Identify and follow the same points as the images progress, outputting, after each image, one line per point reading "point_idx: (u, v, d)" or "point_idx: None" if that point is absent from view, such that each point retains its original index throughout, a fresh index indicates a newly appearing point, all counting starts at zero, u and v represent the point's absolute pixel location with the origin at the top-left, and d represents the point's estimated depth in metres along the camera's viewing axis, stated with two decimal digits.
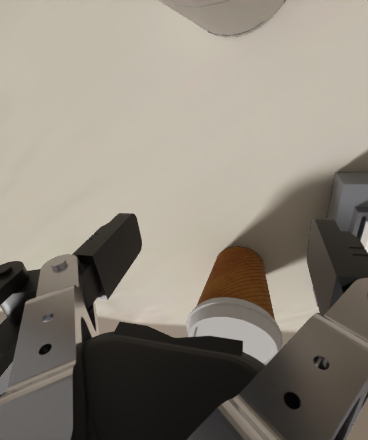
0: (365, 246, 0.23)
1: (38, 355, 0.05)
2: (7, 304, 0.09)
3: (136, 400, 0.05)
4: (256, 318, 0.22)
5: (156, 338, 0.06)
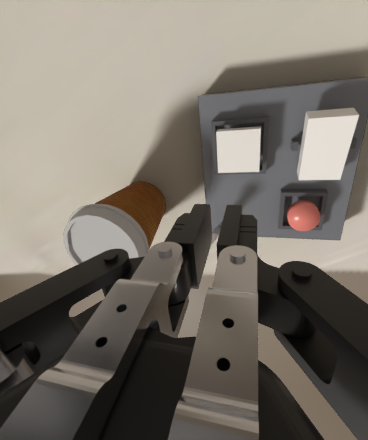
0: (217, 152, 0.25)
1: (93, 345, 0.05)
2: None
3: (136, 400, 0.05)
4: (114, 217, 0.24)
5: (156, 338, 0.06)
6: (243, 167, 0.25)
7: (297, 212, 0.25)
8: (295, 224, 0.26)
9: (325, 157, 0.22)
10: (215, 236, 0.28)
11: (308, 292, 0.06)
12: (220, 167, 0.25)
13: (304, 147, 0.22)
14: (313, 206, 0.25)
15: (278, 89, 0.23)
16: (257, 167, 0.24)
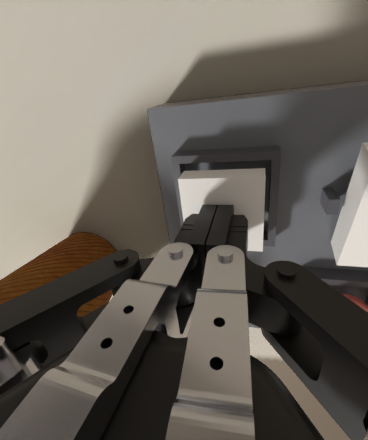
0: (183, 215, 0.13)
1: (99, 346, 0.05)
2: None
3: (136, 400, 0.05)
4: None
5: (156, 338, 0.06)
6: None
7: None
8: None
9: None
10: None
11: (293, 291, 0.07)
12: None
13: (356, 215, 0.11)
14: None
15: (300, 95, 0.11)
16: (259, 244, 0.13)
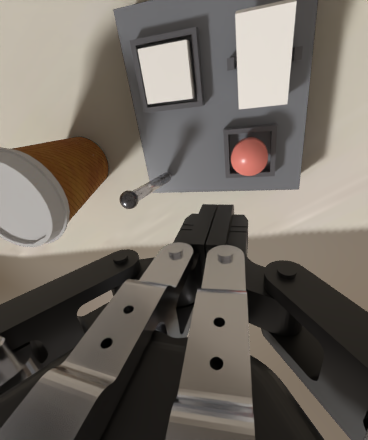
0: (143, 78, 0.21)
1: (99, 346, 0.05)
2: None
3: (136, 400, 0.05)
4: (13, 160, 0.20)
5: (156, 338, 0.06)
6: (174, 94, 0.21)
7: (240, 151, 0.21)
8: (239, 167, 0.22)
9: (264, 73, 0.18)
10: (149, 187, 0.23)
11: (294, 291, 0.07)
12: (149, 97, 0.21)
13: (237, 60, 0.18)
14: (258, 142, 0.20)
15: None
16: (189, 92, 0.21)
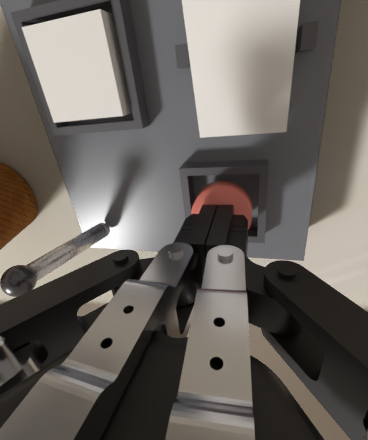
0: (40, 78, 0.12)
1: (99, 346, 0.05)
2: None
3: (136, 400, 0.05)
4: None
5: (156, 338, 0.06)
6: (92, 108, 0.12)
7: None
8: None
9: (242, 72, 0.09)
10: (63, 255, 0.14)
11: (293, 291, 0.07)
12: (54, 111, 0.13)
13: (190, 46, 0.09)
14: (235, 192, 0.12)
15: None
16: (117, 105, 0.12)
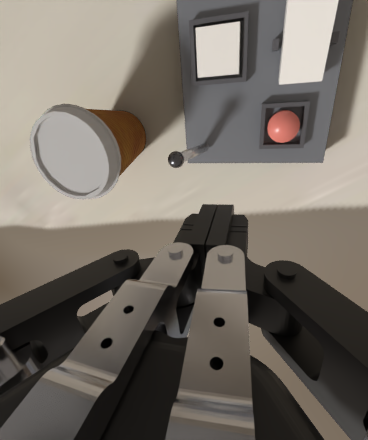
0: (197, 53, 0.24)
1: (99, 346, 0.05)
2: None
3: (136, 400, 0.05)
4: (82, 115, 0.23)
5: (156, 338, 0.06)
6: (222, 69, 0.24)
7: (277, 120, 0.25)
8: (274, 134, 0.26)
9: (306, 51, 0.21)
10: (192, 152, 0.26)
11: (293, 291, 0.07)
12: (200, 71, 0.25)
13: (284, 39, 0.21)
14: (292, 112, 0.24)
15: None
16: (236, 68, 0.24)
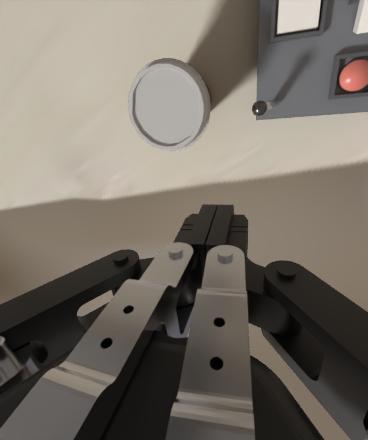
0: (278, 10, 0.27)
1: (99, 346, 0.05)
2: None
3: (136, 400, 0.05)
4: (182, 66, 0.25)
5: (156, 338, 0.06)
6: (302, 23, 0.27)
7: (350, 69, 0.27)
8: (347, 83, 0.28)
9: None
10: (270, 103, 0.29)
11: (293, 291, 0.07)
12: (280, 27, 0.27)
13: None
14: (366, 61, 0.27)
15: None
16: (316, 21, 0.26)
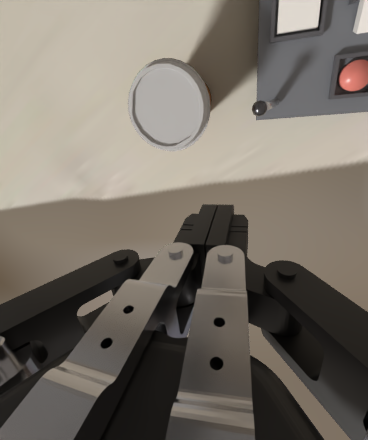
0: (278, 10, 0.27)
1: (99, 346, 0.05)
2: None
3: (136, 400, 0.05)
4: (182, 66, 0.25)
5: (156, 338, 0.06)
6: (302, 23, 0.27)
7: (350, 69, 0.27)
8: (347, 83, 0.28)
9: None
10: (270, 103, 0.29)
11: (293, 291, 0.07)
12: (280, 27, 0.27)
13: None
14: (366, 61, 0.27)
15: None
16: (316, 21, 0.26)
